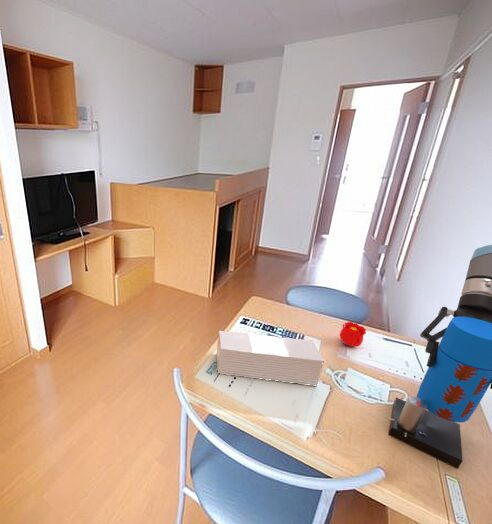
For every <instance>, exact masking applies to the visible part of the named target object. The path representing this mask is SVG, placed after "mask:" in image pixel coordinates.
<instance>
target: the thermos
mask: <svg viewBox="0 0 492 524" xmlns="http://www.w3.org/2000/svg"><path fill="white" fill-rule="evenodd" d="M446 328H447V329H446V331H445V333H444V335H443V337H442V338H441V339H440V341H439V346H438V349H437V352H436V356H435V359H434V363H433V366H431V367H428V368H427V370H426V372H425V374H424V376H423V378H422V381H421V383H420V385H419V388H418V391H417V393H416V397H418V398H420V399H422V400H424V401H425V402H426V403H427V405H428V407H427V409H426V410H427V411H430V412H431V413H433V414H435V415H437V416H438V417H441V418H443V419H446V420H449V421H453V422H456V423H465V422H468V421H469V420H470V419H471V417H472V415H473V414H474V413H475V412H476V410H477V408H478V406H479V404H480V403H481V402H482V399H483V397H484V396H485V394H486V392H487V391H488V389H489V388H490V387H489V386H491V382H492V323H489V322H486V321H483V320H479V319H475V318H470V317H452V319H451V320H450V321H449V322H448V325H447V327H446Z"/></svg>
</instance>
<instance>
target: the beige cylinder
mask: <svg viewBox="0 0 492 524" xmlns="http://www.w3.org/2000/svg"><path fill="white" fill-rule="evenodd" d="M427 407H428V405H427V403H426V402H425V401H424V400H422V399H420V398H418V397H417V396H415V395H410V396H408V397H407V399H406V404H405V406H404V408H403V410H402V413H401V415H400V417H399V419H398V421H397V423H398V425H399V426H400V427H401V428H402V429H403V430H405V431H407V432H410V433H414V432H416V430H417V428H418V426H419V424H420V422H421V420H422V418H423V416H424V413H425V411H426V410H427Z"/></svg>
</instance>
